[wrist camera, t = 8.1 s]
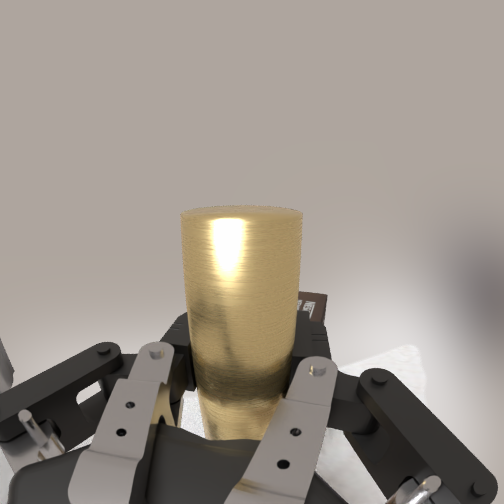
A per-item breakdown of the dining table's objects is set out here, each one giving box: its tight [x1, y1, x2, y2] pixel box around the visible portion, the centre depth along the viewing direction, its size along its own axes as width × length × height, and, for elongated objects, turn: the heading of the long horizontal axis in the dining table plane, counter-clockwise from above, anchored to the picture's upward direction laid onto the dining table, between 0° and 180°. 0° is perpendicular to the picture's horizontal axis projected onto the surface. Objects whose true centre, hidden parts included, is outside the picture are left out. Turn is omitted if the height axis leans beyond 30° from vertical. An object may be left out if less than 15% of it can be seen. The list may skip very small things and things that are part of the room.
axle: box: [181, 205, 303, 440], centre depth 10 cm, size 4×4×16 cm
